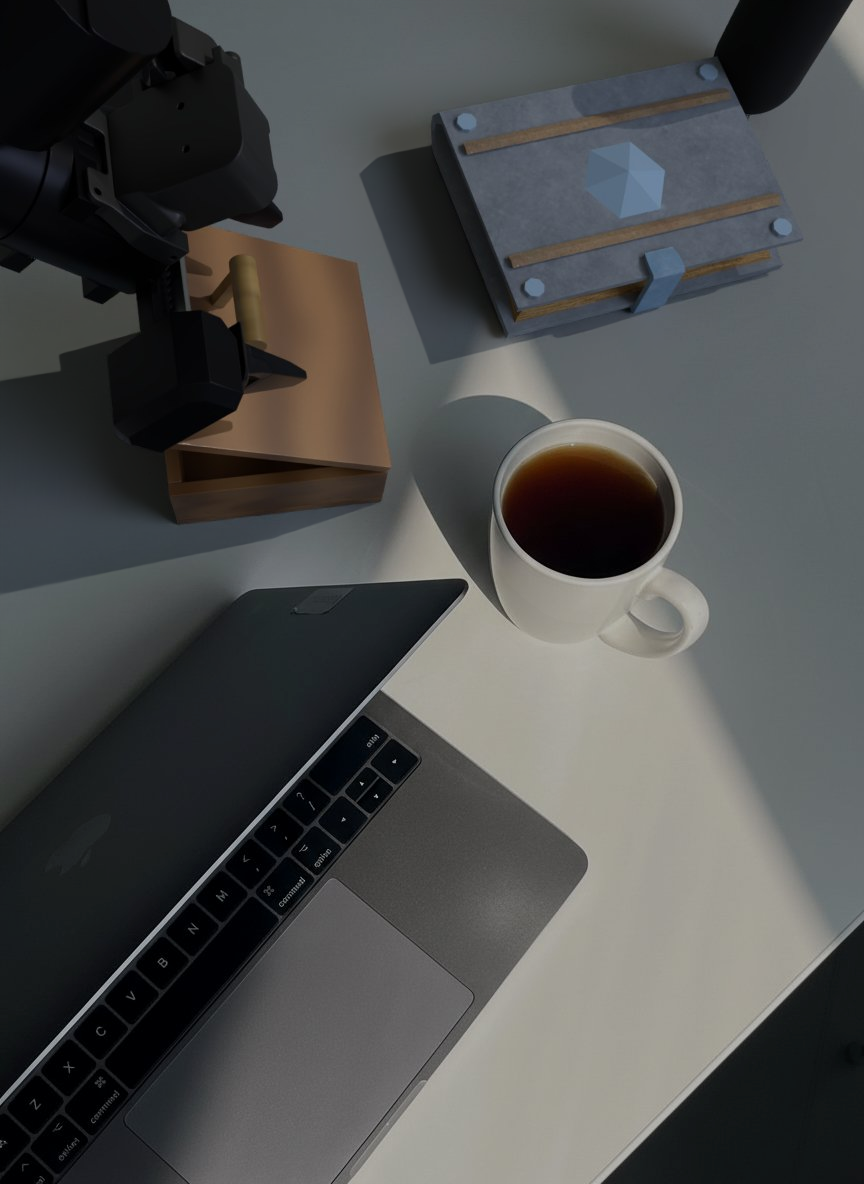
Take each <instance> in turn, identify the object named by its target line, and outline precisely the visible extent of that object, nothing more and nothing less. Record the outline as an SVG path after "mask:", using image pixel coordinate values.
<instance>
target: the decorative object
mask: <svg viewBox="0 0 864 1184" xmlns="http://www.w3.org/2000/svg"><path fill="white" fill-rule="evenodd" d="M853 1H854V0H738V2H737V4H736V6H735V8H734V10H733V12H732V14H731V16H730V17H729V20H728V23H727V24H726V26H725V28H724V30H723V32H722V34H721V36H720V38H719V39H718V42H717V44H716V46H715V49H714V52H713V56H712V57H716V56H717V57H718V59H719V61H720V63H721V66H722V68H723V70H724V72H725V74H726V76H727V78H728V80H729V82H730V84H731V86H732V88H733V90H734V93H735V95H736V97H737V99H738V101H739V103H740V105H741V107H742V109H743V111H744V113H745V115H746V116H754V115H755V116H756V115H762V114H765V113H768V112H770V111H772V110H774V109H776V108H778V107H780V106H781V105H782V104H784V103H785V102H786V101H787V100H789V99H790V98H791V97H792V95H793V94H794V93H796V91H797V89H798V88H799V86H800V85H801V83H802V82H803V80H804V79H805V77H806V76H807V74H808V72H809V71H810V69H811V68H812V66H813V65H814V63H815V61H816V59H817V58H818V57H819V55H820V53H821V52H822V51H823V49H824V48H825V45H826V44H827V42H828V41H829V39H830V37H831V36H832V35H833V32H834V31H835V30H836V28H837V26H838V25H839V23H840V22H841V20H842V18H843V17H844V15H845V14H846V13H847V10H848V9H849V8H850V6H851V4H852V3H853Z"/></svg>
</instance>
